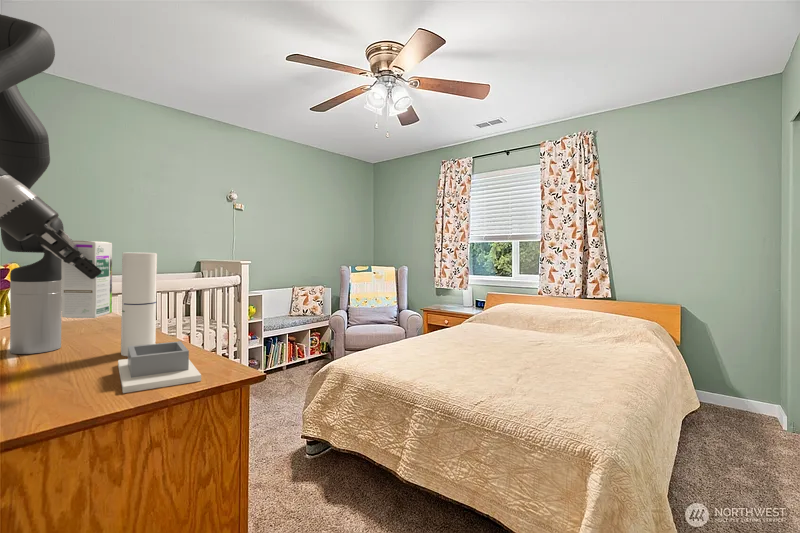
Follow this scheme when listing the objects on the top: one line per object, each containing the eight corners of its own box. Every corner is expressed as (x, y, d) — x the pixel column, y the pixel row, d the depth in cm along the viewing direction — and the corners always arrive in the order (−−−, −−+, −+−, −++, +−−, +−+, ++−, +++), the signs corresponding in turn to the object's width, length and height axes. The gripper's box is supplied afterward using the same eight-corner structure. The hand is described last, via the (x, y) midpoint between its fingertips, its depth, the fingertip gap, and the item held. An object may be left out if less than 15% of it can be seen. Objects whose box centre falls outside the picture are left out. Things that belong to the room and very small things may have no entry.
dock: (118, 365, 87) (118, 342, 86) (183, 357, 95) (184, 336, 94) (122, 393, 71) (123, 365, 71) (201, 380, 79) (201, 355, 79)
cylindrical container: (138, 357, 93) (139, 253, 92) (113, 354, 94) (114, 252, 93) (162, 350, 100) (163, 253, 99) (138, 347, 101) (140, 252, 100)
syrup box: (95, 318, 73) (97, 241, 72) (59, 317, 72) (60, 239, 71) (112, 313, 78) (114, 241, 78) (79, 312, 77) (80, 240, 77)
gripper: (29, 191, 64) (115, 262, 71) (41, 198, 75) (114, 259, 83) (-17, 220, 61) (78, 292, 68) (2, 223, 72) (81, 284, 80)
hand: (97, 274), depth 76 cm, fingers closed on syrup box, 7 cm apart
